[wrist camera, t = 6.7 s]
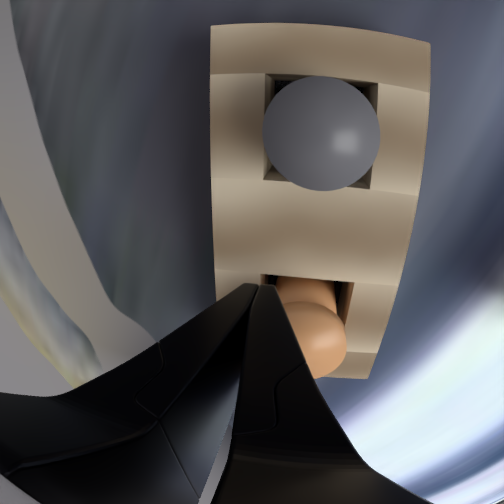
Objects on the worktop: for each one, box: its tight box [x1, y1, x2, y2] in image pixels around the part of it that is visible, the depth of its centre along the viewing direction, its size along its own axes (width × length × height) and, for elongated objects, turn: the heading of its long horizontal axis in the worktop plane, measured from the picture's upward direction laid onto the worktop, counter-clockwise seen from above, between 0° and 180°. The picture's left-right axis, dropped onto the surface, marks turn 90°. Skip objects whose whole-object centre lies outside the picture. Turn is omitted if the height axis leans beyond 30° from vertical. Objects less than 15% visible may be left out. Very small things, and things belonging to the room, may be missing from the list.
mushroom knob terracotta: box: [275, 275, 347, 379], centre depth 17 cm, size 5×5×6 cm
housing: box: [210, 23, 430, 379], centre depth 17 cm, size 20×10×4 cm, turn 179°
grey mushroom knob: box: [262, 76, 380, 191], centre depth 14 cm, size 5×5×6 cm
